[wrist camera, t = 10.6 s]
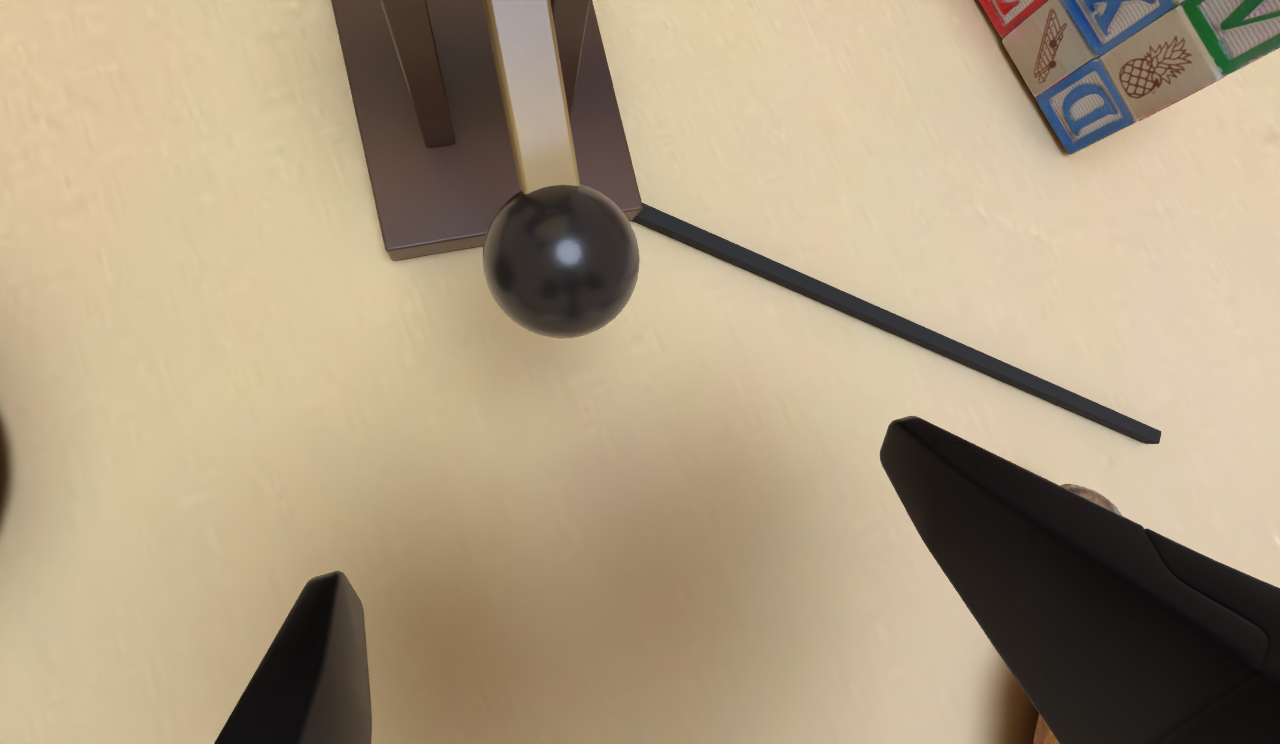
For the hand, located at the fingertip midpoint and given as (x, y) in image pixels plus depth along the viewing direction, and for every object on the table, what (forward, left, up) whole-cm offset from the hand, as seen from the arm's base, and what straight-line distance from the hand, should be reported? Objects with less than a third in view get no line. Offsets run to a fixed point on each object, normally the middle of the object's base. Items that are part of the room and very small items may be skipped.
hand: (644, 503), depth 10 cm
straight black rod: (+11, -10, -12) cm, 19 cm away
